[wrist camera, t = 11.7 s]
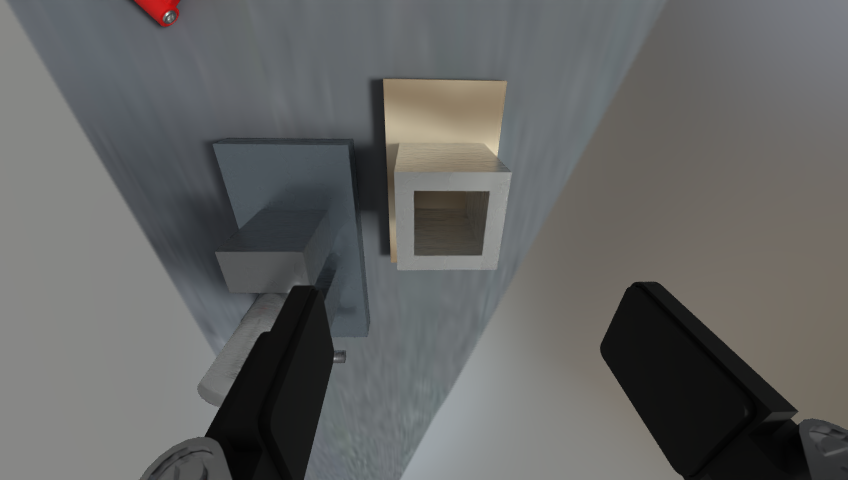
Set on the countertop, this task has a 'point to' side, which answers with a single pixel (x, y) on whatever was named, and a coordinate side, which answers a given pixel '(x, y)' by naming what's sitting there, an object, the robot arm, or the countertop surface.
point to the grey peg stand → (289, 240)
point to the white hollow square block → (450, 228)
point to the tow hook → (161, 10)
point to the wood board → (438, 127)
